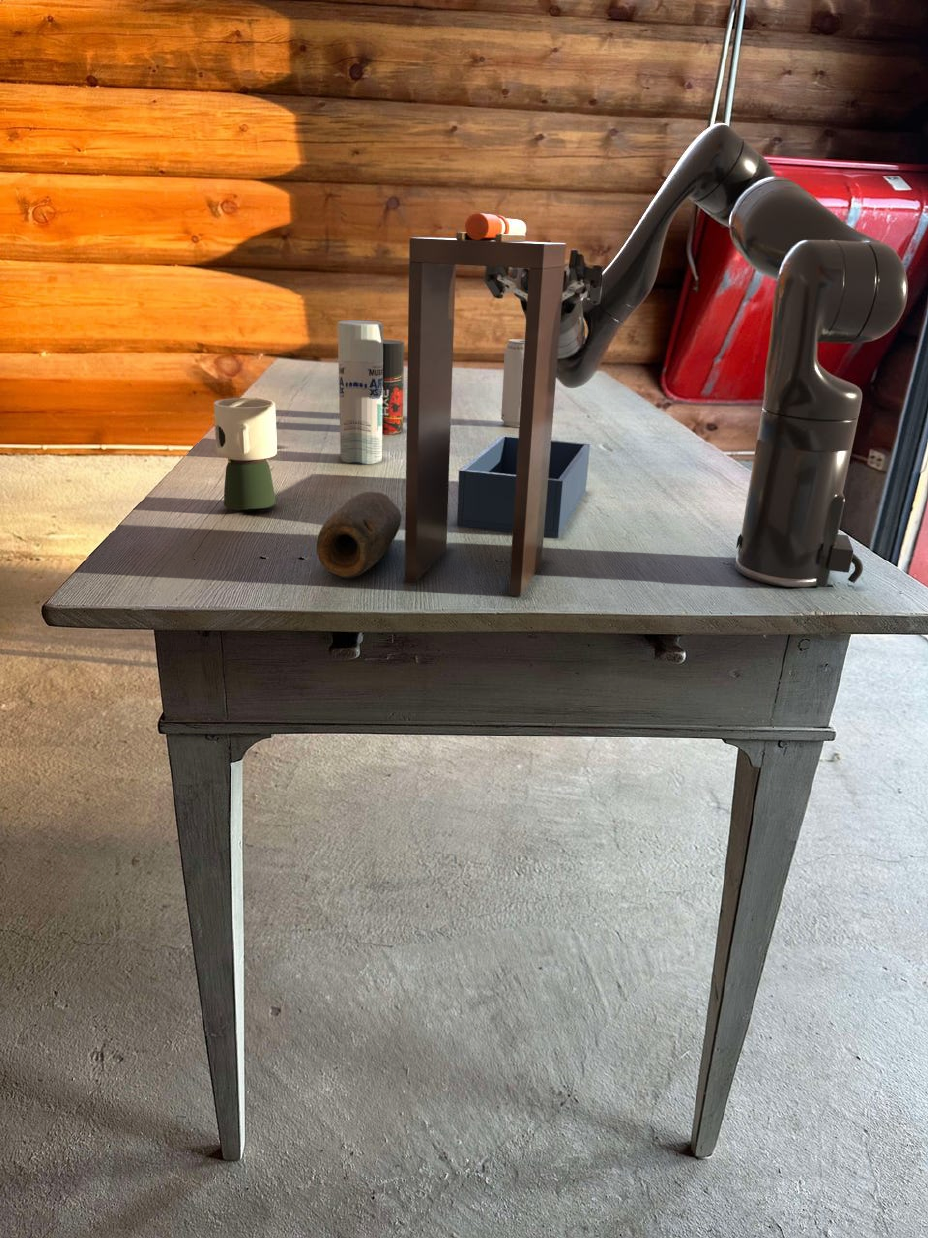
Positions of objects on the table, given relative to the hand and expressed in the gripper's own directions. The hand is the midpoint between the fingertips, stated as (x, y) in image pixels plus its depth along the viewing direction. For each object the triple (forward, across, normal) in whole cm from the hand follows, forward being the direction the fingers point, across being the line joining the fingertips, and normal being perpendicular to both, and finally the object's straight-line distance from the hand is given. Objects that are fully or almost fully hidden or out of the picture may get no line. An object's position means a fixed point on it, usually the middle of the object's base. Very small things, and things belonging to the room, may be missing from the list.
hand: (536, 255), depth 105 cm
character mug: (-2, -31, +33) cm, 46 cm away
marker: (+18, 0, +6) cm, 19 cm away
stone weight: (+10, -12, +39) cm, 42 cm away
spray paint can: (-29, -28, +20) cm, 45 cm away
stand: (+9, 0, +38) cm, 39 cm away
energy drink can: (-63, -12, +4) cm, 64 cm away
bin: (-14, +1, +27) cm, 30 cm away
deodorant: (-48, -32, +11) cm, 59 cm away
